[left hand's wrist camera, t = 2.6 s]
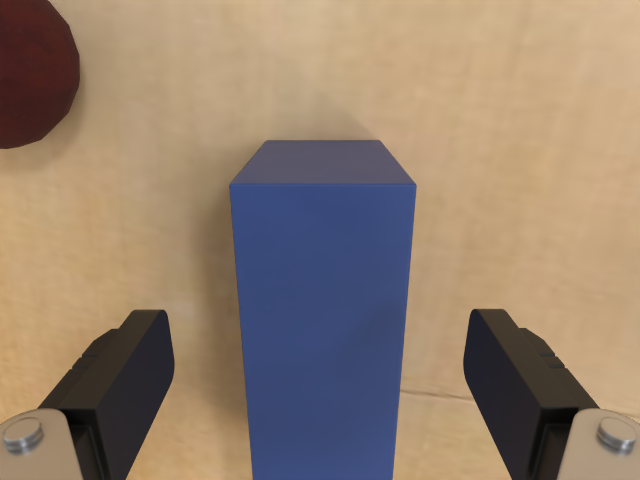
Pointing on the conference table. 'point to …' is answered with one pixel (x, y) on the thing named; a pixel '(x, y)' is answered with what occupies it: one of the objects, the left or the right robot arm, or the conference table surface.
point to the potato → (34, 71)
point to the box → (322, 305)
